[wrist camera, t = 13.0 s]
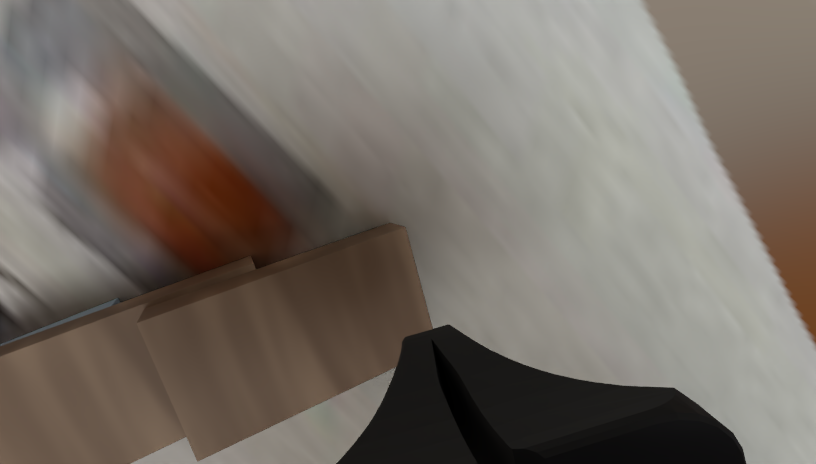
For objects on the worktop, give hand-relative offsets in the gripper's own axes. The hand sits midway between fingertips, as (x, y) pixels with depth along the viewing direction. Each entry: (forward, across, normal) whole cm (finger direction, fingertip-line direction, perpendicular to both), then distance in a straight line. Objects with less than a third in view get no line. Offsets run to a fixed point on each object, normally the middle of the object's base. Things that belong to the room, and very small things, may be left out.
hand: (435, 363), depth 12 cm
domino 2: (+6, 0, 0) cm, 6 cm away
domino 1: (+6, +5, 0) cm, 8 cm away
